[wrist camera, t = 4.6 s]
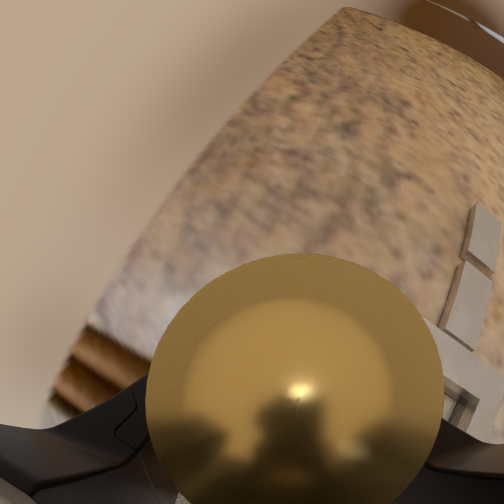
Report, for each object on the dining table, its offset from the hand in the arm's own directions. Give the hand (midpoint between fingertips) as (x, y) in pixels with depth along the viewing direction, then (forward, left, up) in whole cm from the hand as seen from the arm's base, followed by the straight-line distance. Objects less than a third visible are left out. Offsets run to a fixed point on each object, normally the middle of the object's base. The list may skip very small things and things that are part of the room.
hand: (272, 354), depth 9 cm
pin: (-1, -1, -7) cm, 7 cm away
